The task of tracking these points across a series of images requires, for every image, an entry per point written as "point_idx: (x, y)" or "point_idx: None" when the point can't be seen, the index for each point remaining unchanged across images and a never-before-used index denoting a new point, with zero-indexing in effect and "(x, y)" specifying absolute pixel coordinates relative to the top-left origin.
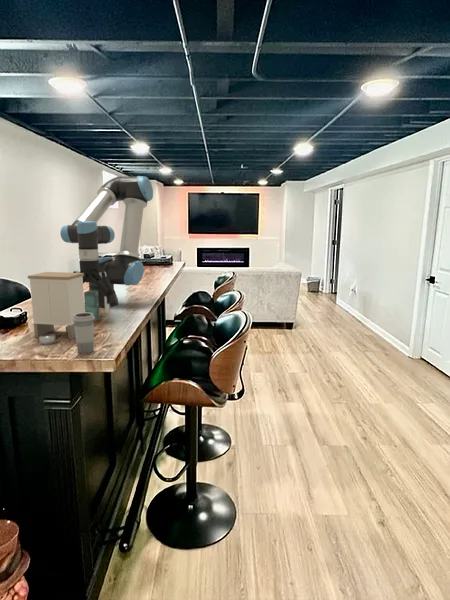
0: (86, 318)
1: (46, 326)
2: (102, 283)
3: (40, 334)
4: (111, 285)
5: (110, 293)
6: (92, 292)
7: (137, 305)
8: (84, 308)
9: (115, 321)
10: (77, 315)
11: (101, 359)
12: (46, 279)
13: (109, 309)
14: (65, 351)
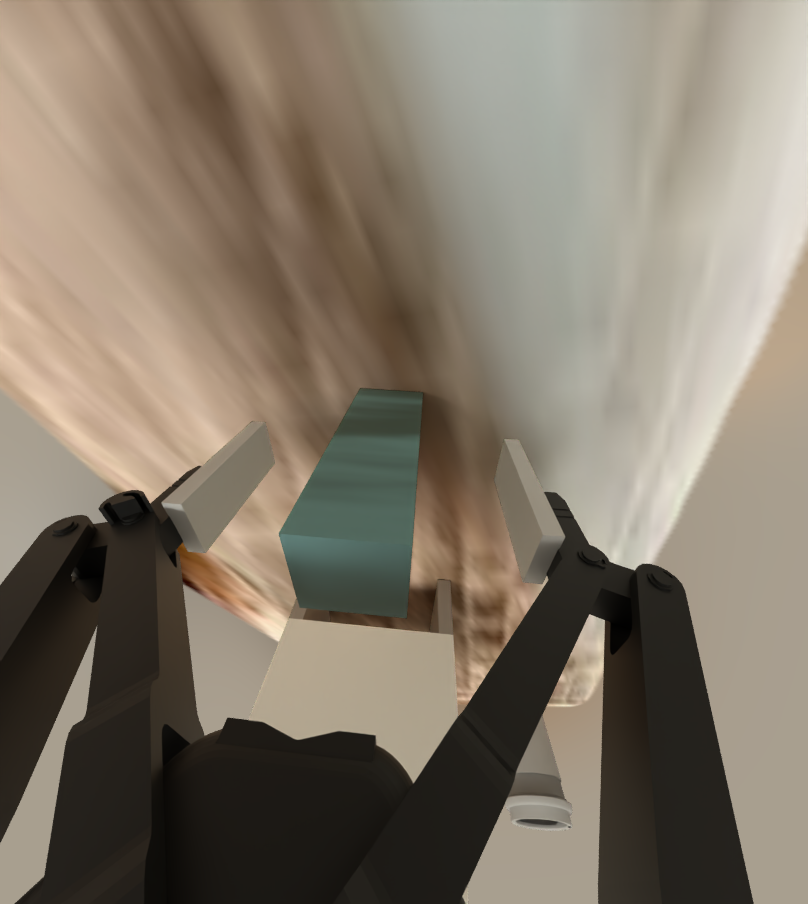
0: (553, 821)
1: (318, 619)
2: (533, 727)
3: (328, 620)
4: (698, 706)
5: (611, 621)
6: (392, 610)
7: None
8: (456, 691)
9: (545, 438)
10: (515, 808)
11: (561, 705)
12: None
13: (520, 447)
14: (465, 680)
